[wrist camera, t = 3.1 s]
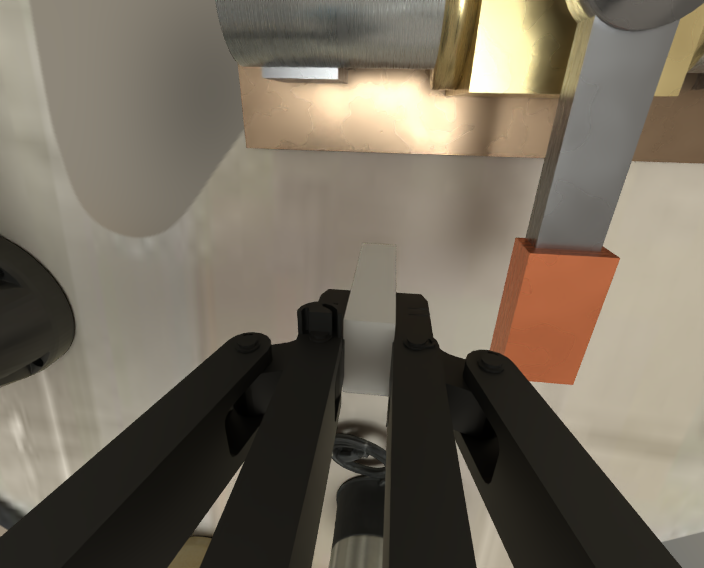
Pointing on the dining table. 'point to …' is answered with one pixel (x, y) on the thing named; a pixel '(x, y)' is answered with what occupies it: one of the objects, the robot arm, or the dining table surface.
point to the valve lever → (583, 184)
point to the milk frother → (359, 506)
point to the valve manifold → (434, 77)
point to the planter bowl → (191, 553)
